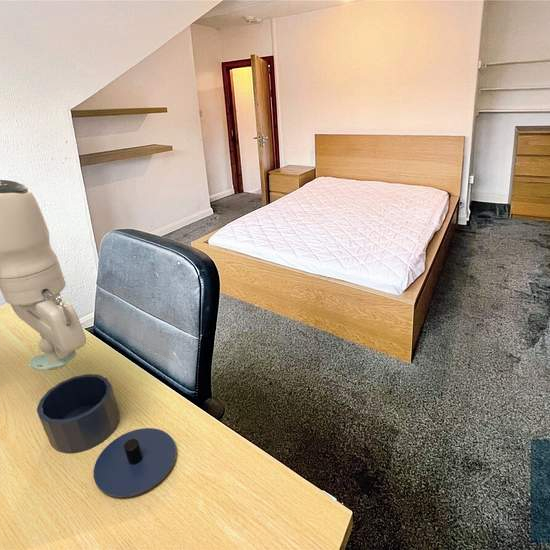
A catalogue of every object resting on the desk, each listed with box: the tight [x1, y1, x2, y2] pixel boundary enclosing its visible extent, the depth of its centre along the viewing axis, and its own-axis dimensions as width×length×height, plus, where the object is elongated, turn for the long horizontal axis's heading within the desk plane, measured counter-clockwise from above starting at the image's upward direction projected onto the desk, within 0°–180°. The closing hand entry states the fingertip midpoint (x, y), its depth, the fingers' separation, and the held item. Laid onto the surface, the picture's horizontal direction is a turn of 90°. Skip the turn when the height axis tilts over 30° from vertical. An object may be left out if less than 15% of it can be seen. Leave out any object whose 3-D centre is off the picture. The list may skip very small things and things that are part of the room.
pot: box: [36, 373, 121, 454], centre depth 77 cm, size 13×13×8 cm
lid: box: [93, 427, 177, 498], centre depth 70 cm, size 14×14×5 cm
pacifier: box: [28, 338, 78, 371], centre depth 72 cm, size 7×6×6 cm
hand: (58, 352), depth 71 cm, fingers closed on pacifier
